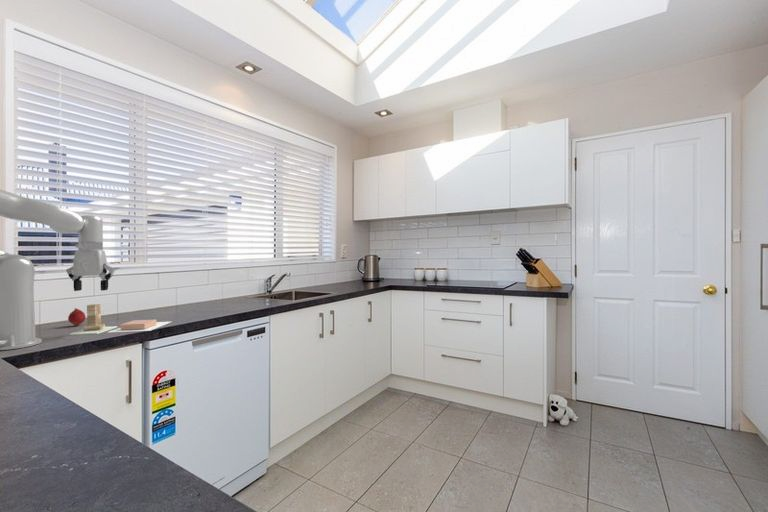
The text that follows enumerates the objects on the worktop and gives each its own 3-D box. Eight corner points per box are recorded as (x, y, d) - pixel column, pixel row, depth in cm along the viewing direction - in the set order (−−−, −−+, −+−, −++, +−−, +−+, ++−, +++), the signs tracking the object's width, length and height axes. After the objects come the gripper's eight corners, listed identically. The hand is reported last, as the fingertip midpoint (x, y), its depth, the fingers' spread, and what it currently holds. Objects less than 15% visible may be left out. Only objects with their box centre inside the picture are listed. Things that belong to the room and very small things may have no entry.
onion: (88, 324, 162) (87, 306, 162) (81, 326, 157) (80, 308, 156) (73, 325, 161) (72, 307, 161) (65, 327, 155) (64, 309, 155)
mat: (150, 332, 142) (150, 330, 142) (106, 334, 140) (106, 332, 140) (172, 323, 160) (172, 321, 160) (133, 324, 158) (133, 323, 158)
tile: (156, 324, 153) (144, 329, 144) (134, 325, 152) (120, 330, 143) (156, 319, 153) (144, 323, 144) (133, 320, 152) (120, 324, 143)
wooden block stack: (99, 330, 142) (98, 305, 142) (83, 330, 142) (82, 305, 142) (105, 328, 145) (104, 303, 145) (89, 329, 145) (88, 304, 145)
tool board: (97, 335, 138) (97, 332, 138) (69, 337, 137) (69, 333, 137) (117, 329, 150) (117, 326, 150) (91, 330, 149) (91, 327, 149)
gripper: (59, 246, 138) (59, 291, 138) (107, 246, 140) (108, 290, 140) (74, 247, 146) (74, 289, 146) (120, 247, 147) (120, 289, 147)
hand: (91, 290), depth 143 cm, fingers open, 9 cm apart
